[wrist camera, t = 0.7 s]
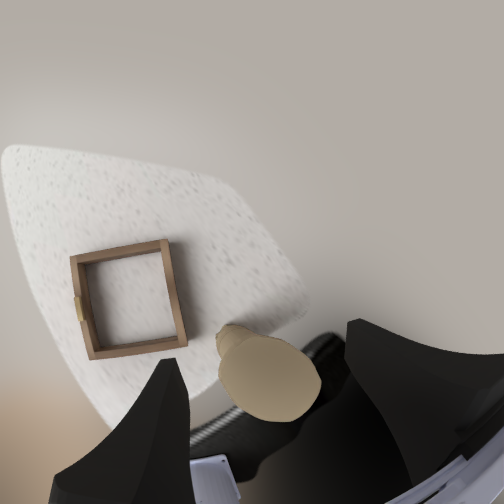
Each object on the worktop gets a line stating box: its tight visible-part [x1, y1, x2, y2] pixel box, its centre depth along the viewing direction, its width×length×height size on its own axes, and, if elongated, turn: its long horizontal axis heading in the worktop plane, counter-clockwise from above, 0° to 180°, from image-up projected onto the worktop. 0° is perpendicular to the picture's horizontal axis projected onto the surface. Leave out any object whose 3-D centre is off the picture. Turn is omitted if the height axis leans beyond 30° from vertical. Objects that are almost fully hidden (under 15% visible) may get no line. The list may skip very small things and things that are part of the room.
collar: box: [70, 239, 188, 360], centre depth 25 cm, size 11×11×3 cm
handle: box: [216, 325, 321, 422], centre depth 22 cm, size 5×6×15 cm
